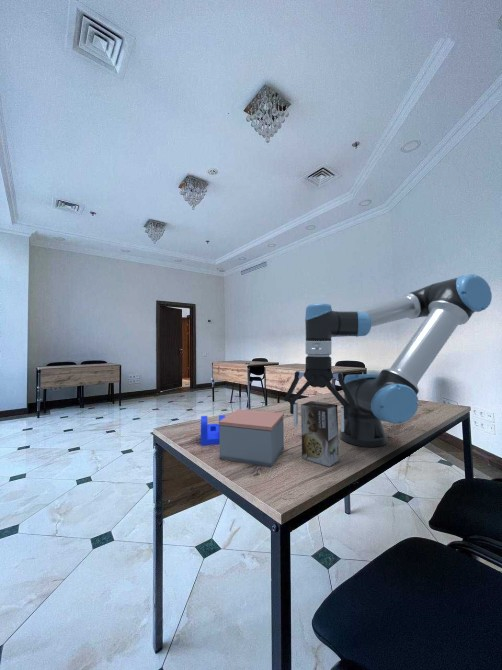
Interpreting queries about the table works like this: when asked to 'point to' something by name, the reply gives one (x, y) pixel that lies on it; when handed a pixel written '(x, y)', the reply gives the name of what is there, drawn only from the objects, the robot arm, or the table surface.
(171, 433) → the table surface
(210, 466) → the table surface
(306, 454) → the coffee box
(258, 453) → the box
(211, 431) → the bracket
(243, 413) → the lid
